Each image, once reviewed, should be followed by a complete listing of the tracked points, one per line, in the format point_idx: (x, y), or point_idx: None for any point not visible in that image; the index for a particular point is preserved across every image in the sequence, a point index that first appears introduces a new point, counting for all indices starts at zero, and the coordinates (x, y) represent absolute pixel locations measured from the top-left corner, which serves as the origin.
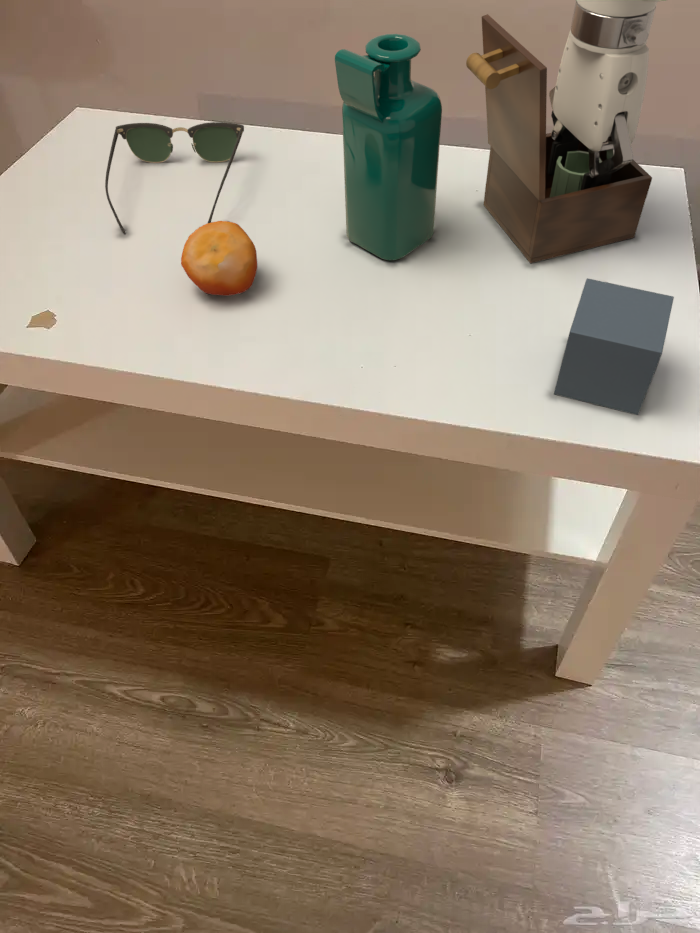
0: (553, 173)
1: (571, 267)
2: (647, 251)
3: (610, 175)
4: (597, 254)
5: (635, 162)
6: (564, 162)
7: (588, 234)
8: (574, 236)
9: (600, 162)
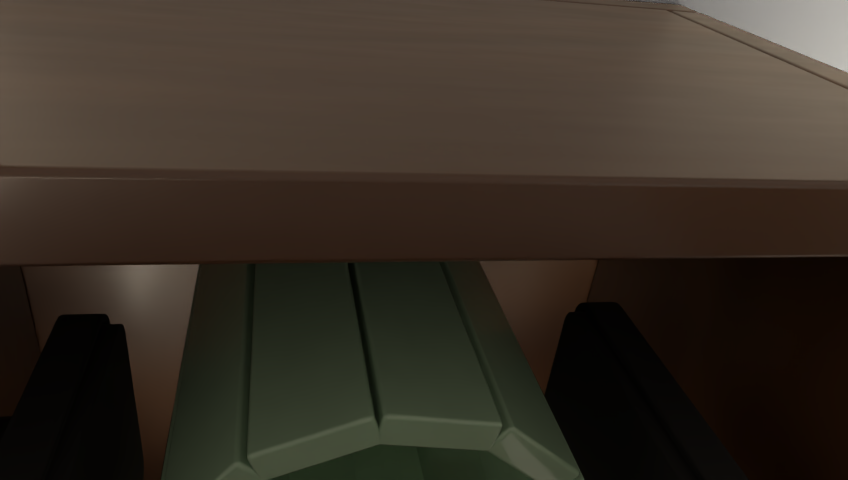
0: (138, 468)
1: None
2: (805, 11)
3: (734, 473)
4: None
5: (820, 201)
6: (114, 476)
7: None
8: None
9: (481, 445)
